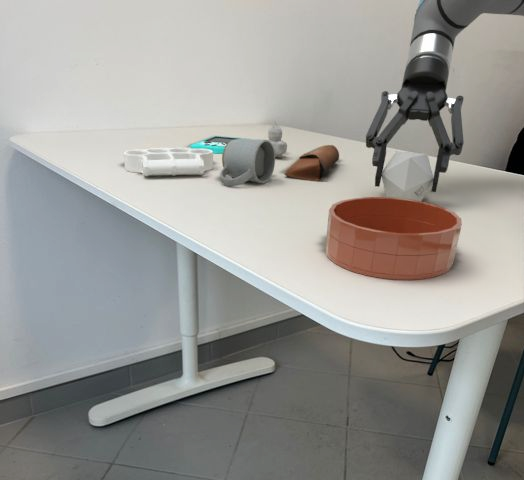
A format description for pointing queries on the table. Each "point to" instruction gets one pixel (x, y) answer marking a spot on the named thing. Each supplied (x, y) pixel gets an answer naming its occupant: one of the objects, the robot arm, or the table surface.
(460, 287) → the table surface
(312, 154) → the sunglasses case
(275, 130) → the grey rounded figure
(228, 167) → the ceramic mug
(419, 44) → the robot arm
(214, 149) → the handheld game console
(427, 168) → the die
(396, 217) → the bowl
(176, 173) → the white compartment tray
